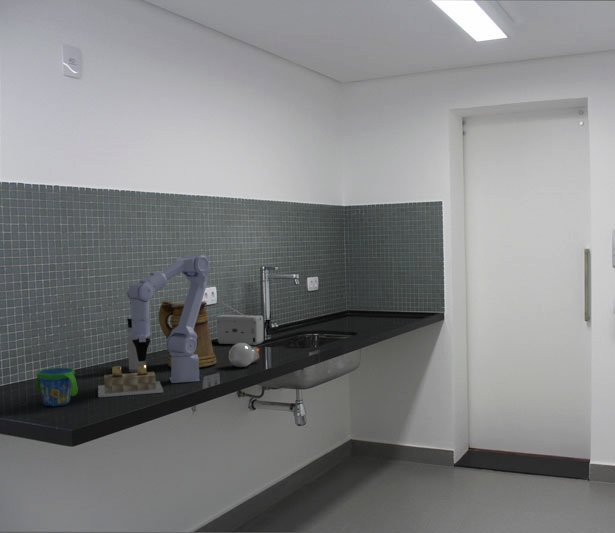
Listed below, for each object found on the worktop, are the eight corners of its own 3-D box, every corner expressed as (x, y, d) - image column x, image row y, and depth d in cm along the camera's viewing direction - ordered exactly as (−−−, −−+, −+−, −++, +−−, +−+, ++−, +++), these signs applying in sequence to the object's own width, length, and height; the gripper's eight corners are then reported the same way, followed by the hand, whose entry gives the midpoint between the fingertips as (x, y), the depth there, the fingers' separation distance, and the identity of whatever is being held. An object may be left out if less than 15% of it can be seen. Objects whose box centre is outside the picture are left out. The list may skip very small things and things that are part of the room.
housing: (154, 383, 241) (153, 371, 241) (155, 387, 234) (155, 375, 234) (104, 387, 236) (104, 375, 236) (104, 391, 230) (104, 379, 229)
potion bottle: (231, 373, 269) (250, 370, 283) (250, 359, 266) (269, 357, 280) (219, 352, 272) (239, 350, 285) (238, 338, 269) (257, 337, 283)
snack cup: (88, 403, 217) (87, 370, 217) (58, 411, 209) (56, 376, 208) (56, 397, 226) (55, 365, 226) (26, 404, 218) (25, 371, 217)
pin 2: (146, 375, 238) (146, 364, 238) (146, 376, 235) (146, 365, 235) (137, 375, 237) (137, 364, 237) (138, 377, 234) (137, 366, 234)
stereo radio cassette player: (264, 343, 333) (263, 300, 332) (256, 346, 325) (255, 302, 324) (224, 341, 340) (223, 299, 339) (215, 344, 332) (214, 301, 332)
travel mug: (124, 371, 269) (123, 318, 268) (139, 368, 273) (138, 316, 273) (134, 373, 264) (132, 319, 264) (149, 370, 269) (148, 317, 268)
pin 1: (121, 376, 236) (121, 366, 235) (121, 378, 233) (121, 367, 233) (112, 377, 235) (112, 366, 235) (112, 379, 232) (112, 368, 232)
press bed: (159, 384, 245) (159, 381, 245) (163, 392, 231) (163, 389, 231) (98, 388, 239) (98, 385, 239) (98, 397, 226) (98, 394, 226)
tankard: (204, 370, 268) (203, 303, 267) (148, 368, 275) (146, 303, 273) (223, 362, 285) (222, 299, 284) (169, 360, 292) (168, 298, 291)
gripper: (127, 318, 241) (128, 358, 242) (129, 322, 227) (130, 365, 228) (148, 317, 243) (149, 356, 244) (151, 321, 229) (153, 364, 230)
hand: (141, 361), depth 236 cm, fingers closed
